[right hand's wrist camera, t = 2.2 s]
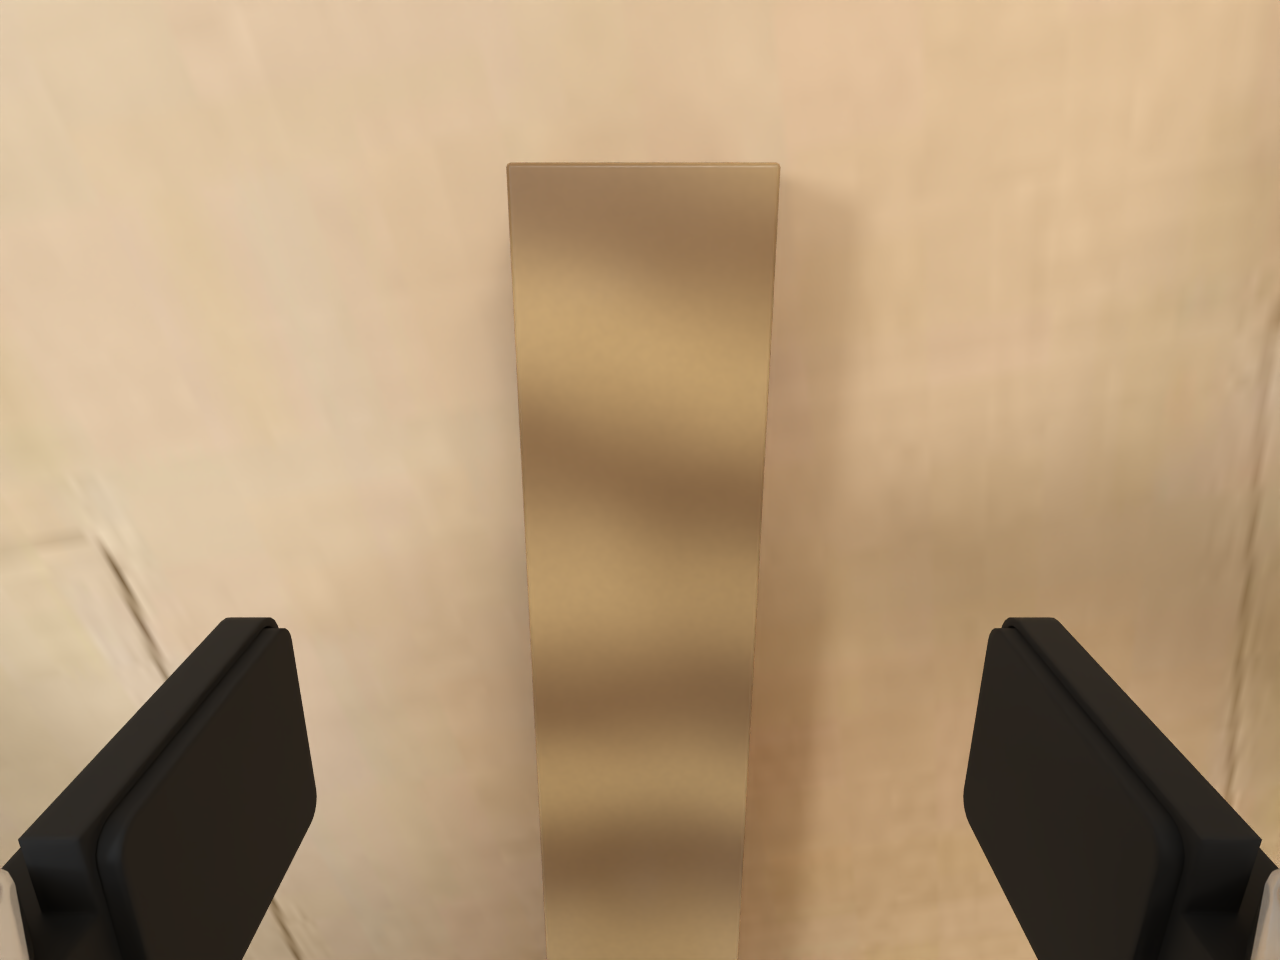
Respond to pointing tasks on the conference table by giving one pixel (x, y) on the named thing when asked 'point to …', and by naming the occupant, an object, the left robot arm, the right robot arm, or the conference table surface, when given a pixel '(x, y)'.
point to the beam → (642, 537)
